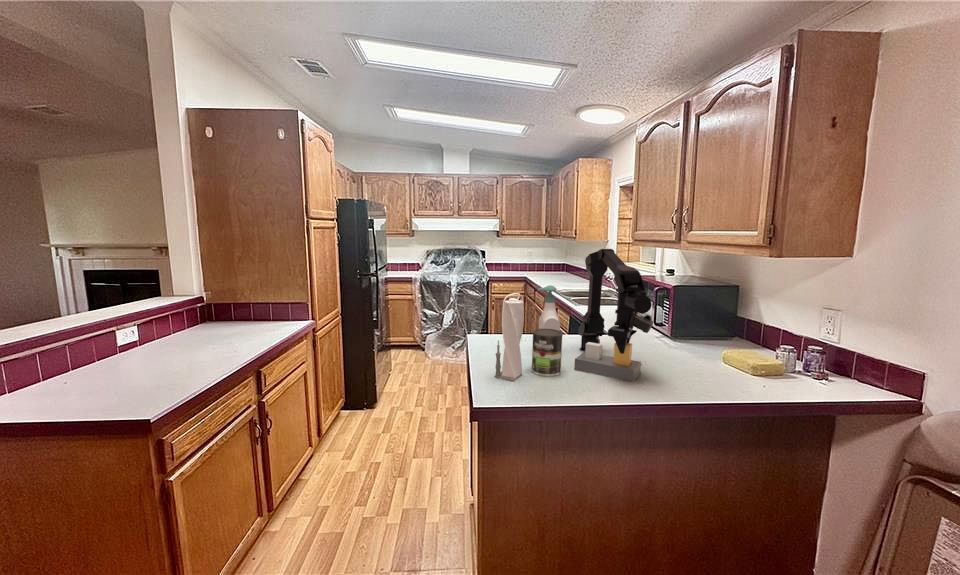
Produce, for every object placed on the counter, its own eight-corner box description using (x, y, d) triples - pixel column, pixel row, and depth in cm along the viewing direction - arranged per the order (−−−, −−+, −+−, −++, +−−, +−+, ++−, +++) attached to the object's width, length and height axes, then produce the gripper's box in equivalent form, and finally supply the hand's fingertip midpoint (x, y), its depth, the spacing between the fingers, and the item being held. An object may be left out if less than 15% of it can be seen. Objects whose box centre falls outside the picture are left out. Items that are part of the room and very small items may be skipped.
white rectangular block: (584, 365, 140) (585, 343, 139) (587, 363, 143) (588, 341, 142) (598, 368, 138) (599, 346, 137) (601, 365, 140) (602, 344, 139)
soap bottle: (533, 348, 164) (535, 283, 160) (553, 348, 164) (555, 283, 160) (538, 357, 153) (539, 287, 149) (559, 357, 153) (561, 287, 149)
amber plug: (613, 365, 135) (614, 343, 133) (615, 363, 137) (617, 341, 136) (628, 368, 132) (629, 345, 131) (630, 366, 134) (632, 343, 133)
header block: (574, 369, 139) (574, 358, 139) (584, 361, 147) (584, 351, 147) (633, 382, 128) (633, 370, 127) (640, 373, 136) (641, 361, 136)
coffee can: (556, 378, 131) (557, 337, 129) (527, 373, 136) (528, 333, 134) (564, 369, 140) (566, 330, 138) (537, 364, 145) (538, 327, 143)
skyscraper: (505, 369, 139) (507, 291, 135) (526, 374, 135) (528, 293, 131) (494, 377, 132) (495, 295, 128) (516, 382, 128) (517, 297, 124)
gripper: (645, 315, 119) (641, 364, 122) (657, 305, 134) (654, 349, 137) (608, 310, 125) (605, 357, 128) (624, 302, 141) (621, 344, 143)
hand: (623, 352), depth 134 cm, fingers closed on amber plug, 3 cm apart
